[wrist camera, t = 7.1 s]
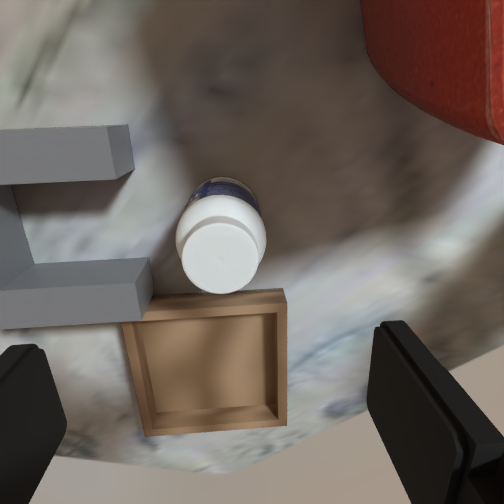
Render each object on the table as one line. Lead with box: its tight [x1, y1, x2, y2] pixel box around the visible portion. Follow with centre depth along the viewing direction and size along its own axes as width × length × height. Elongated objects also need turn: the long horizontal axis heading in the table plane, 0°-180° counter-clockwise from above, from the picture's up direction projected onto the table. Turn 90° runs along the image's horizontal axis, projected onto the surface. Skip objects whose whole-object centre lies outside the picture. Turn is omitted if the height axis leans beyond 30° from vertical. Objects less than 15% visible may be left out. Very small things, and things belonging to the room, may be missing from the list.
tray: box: [121, 288, 287, 437], centre depth 30 cm, size 13×13×2 cm
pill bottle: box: [176, 177, 266, 294], centre depth 22 cm, size 5×5×10 cm
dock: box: [0, 125, 154, 330], centre depth 24 cm, size 10×13×4 cm
